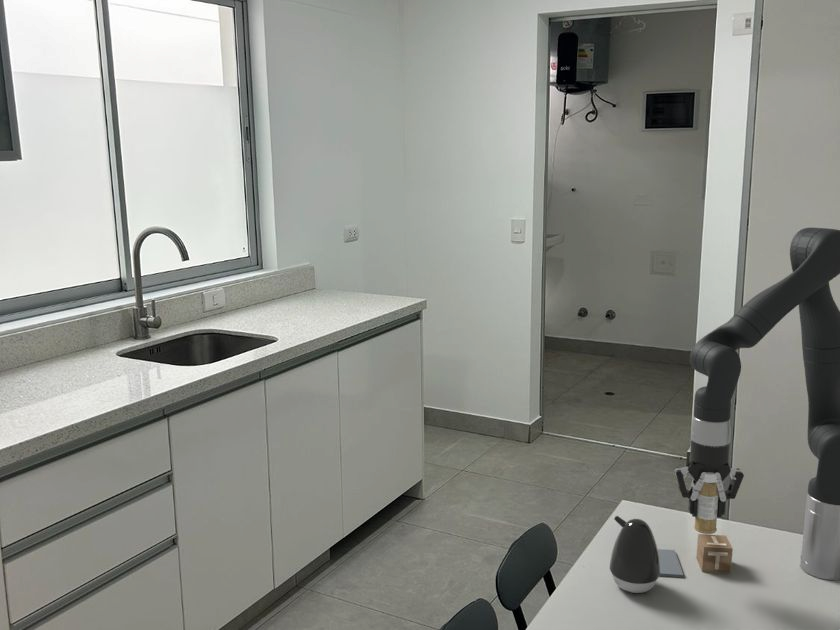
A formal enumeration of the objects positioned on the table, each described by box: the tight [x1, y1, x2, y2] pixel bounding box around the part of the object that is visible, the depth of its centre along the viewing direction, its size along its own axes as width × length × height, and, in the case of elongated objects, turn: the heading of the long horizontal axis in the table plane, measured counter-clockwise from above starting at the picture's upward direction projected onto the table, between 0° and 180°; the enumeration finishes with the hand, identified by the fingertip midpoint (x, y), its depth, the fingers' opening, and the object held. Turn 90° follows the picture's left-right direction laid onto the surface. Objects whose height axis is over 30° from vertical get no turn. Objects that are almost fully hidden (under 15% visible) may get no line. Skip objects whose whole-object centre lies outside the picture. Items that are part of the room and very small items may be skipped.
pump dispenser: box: [609, 515, 660, 594], centre depth 172 cm, size 10×10×15 cm
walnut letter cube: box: [695, 533, 734, 574], centre depth 181 cm, size 6×6×6 cm
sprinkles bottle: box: [693, 472, 719, 535], centre depth 170 cm, size 5×5×14 cm
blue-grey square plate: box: [657, 548, 684, 578], centre depth 182 cm, size 11×11×1 cm
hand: (706, 515), depth 171 cm, fingers closed on sprinkles bottle, 4 cm apart
